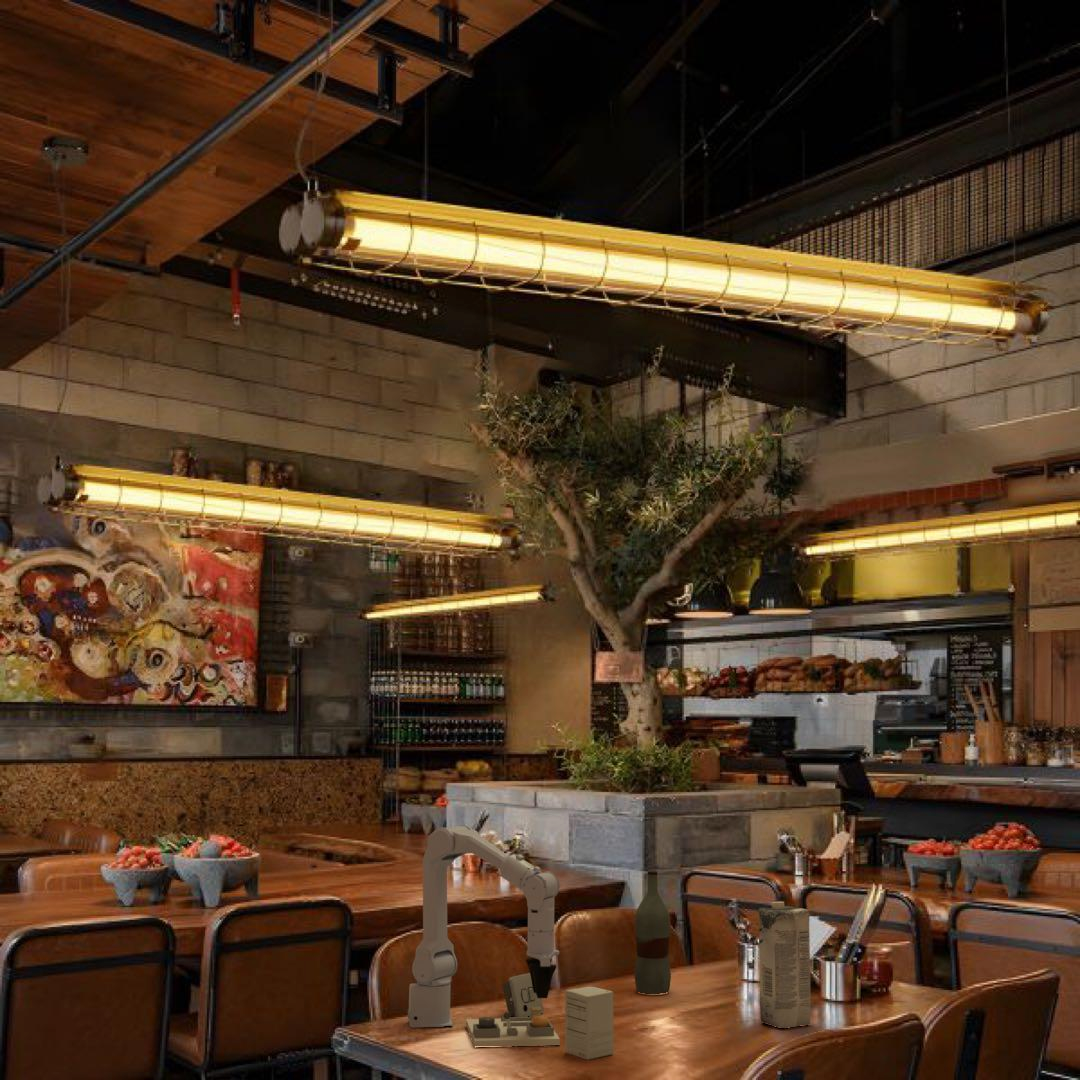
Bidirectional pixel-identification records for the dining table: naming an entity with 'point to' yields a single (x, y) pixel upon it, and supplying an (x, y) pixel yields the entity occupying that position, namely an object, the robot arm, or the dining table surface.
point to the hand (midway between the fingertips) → (540, 995)
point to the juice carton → (784, 965)
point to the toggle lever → (508, 1020)
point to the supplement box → (589, 1022)
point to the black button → (486, 1022)
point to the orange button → (539, 1021)
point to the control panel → (512, 1033)
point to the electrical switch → (521, 996)
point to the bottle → (652, 941)
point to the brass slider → (535, 1012)
